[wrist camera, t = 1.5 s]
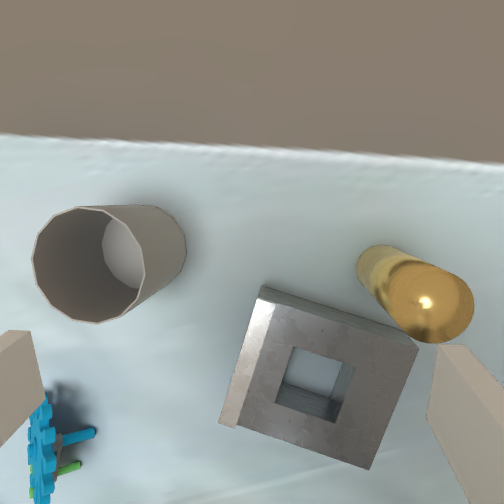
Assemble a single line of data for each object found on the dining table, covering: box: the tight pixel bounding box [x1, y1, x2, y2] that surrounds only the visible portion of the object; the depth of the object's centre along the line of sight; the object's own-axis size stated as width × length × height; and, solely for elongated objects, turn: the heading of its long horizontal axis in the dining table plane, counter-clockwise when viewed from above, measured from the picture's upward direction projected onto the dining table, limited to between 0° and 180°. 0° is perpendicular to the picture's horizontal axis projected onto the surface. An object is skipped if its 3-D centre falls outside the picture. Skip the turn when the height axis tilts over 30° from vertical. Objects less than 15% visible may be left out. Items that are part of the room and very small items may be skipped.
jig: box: [218, 286, 419, 470], centre depth 32 cm, size 14×12×5 cm
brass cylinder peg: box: [356, 245, 474, 343], centre depth 26 cm, size 4×4×12 cm
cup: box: [31, 205, 187, 325], centre depth 29 cm, size 8×8×10 cm
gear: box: [28, 393, 95, 504], centre depth 36 cm, size 11×6×10 cm
